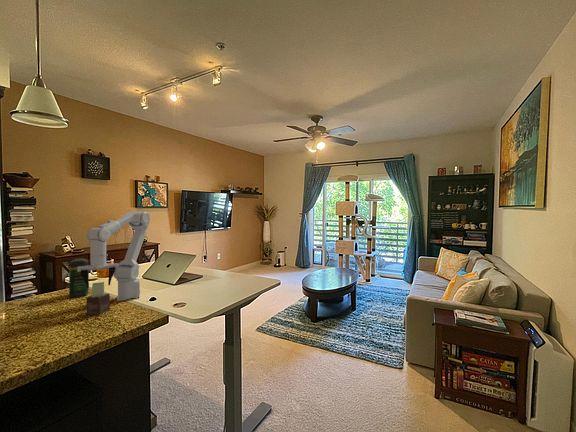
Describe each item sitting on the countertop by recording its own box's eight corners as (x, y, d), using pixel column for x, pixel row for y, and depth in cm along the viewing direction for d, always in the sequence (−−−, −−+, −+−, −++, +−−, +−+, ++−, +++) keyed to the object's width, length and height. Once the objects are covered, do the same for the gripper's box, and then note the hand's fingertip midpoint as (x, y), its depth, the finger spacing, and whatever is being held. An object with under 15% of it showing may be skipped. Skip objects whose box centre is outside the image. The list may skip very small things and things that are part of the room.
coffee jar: (88, 296, 137) (88, 259, 137) (68, 298, 133) (68, 261, 132) (89, 291, 145) (89, 256, 145) (70, 293, 140) (70, 258, 140)
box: (110, 310, 119) (110, 293, 119) (99, 315, 113) (99, 297, 113) (97, 309, 119) (97, 292, 119) (85, 314, 113) (85, 297, 113)
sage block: (104, 293, 119) (104, 282, 119) (103, 295, 115) (103, 284, 115) (92, 294, 117) (92, 283, 117) (92, 297, 113) (92, 285, 113)
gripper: (76, 258, 111) (76, 291, 111) (118, 255, 119) (118, 285, 119) (78, 255, 117) (78, 286, 117) (117, 252, 125) (118, 282, 125)
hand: (98, 286), depth 119 cm, fingers open, 7 cm apart
